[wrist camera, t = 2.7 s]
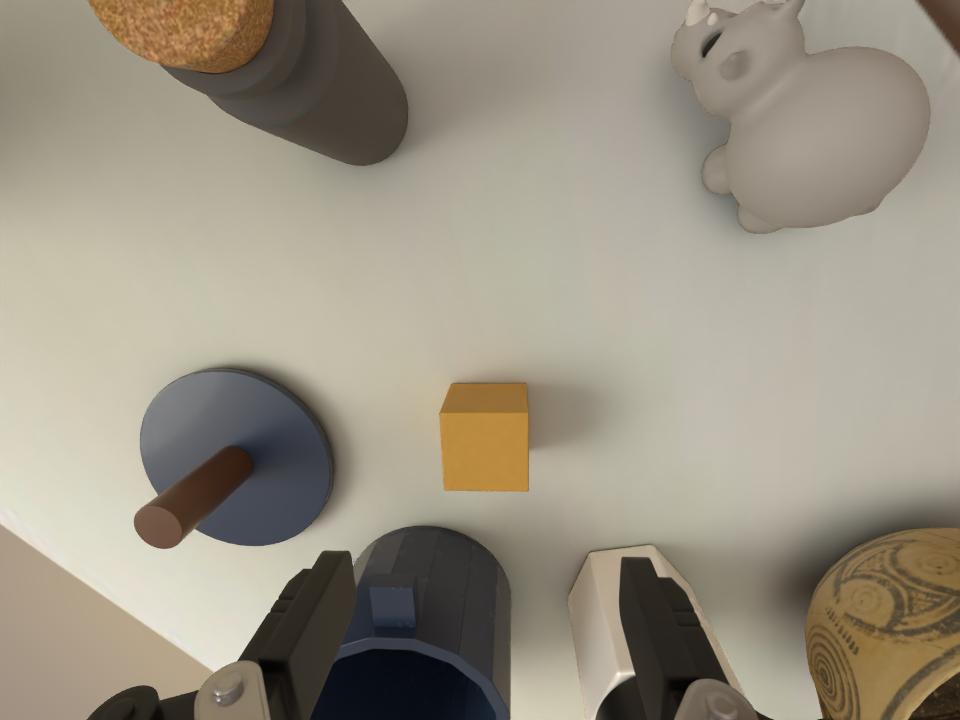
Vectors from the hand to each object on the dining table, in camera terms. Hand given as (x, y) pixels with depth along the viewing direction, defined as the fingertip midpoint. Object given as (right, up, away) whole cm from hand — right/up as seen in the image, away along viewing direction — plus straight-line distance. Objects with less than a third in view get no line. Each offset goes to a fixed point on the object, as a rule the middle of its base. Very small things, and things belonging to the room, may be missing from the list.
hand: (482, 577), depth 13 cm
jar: (+11, -11, +20) cm, 26 cm away
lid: (-17, -1, +19) cm, 26 cm away
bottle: (-7, +21, +12) cm, 25 cm away
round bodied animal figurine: (+14, +19, +11) cm, 26 cm away
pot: (-4, -12, +22) cm, 25 cm away
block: (+1, +2, +17) cm, 17 cm away
